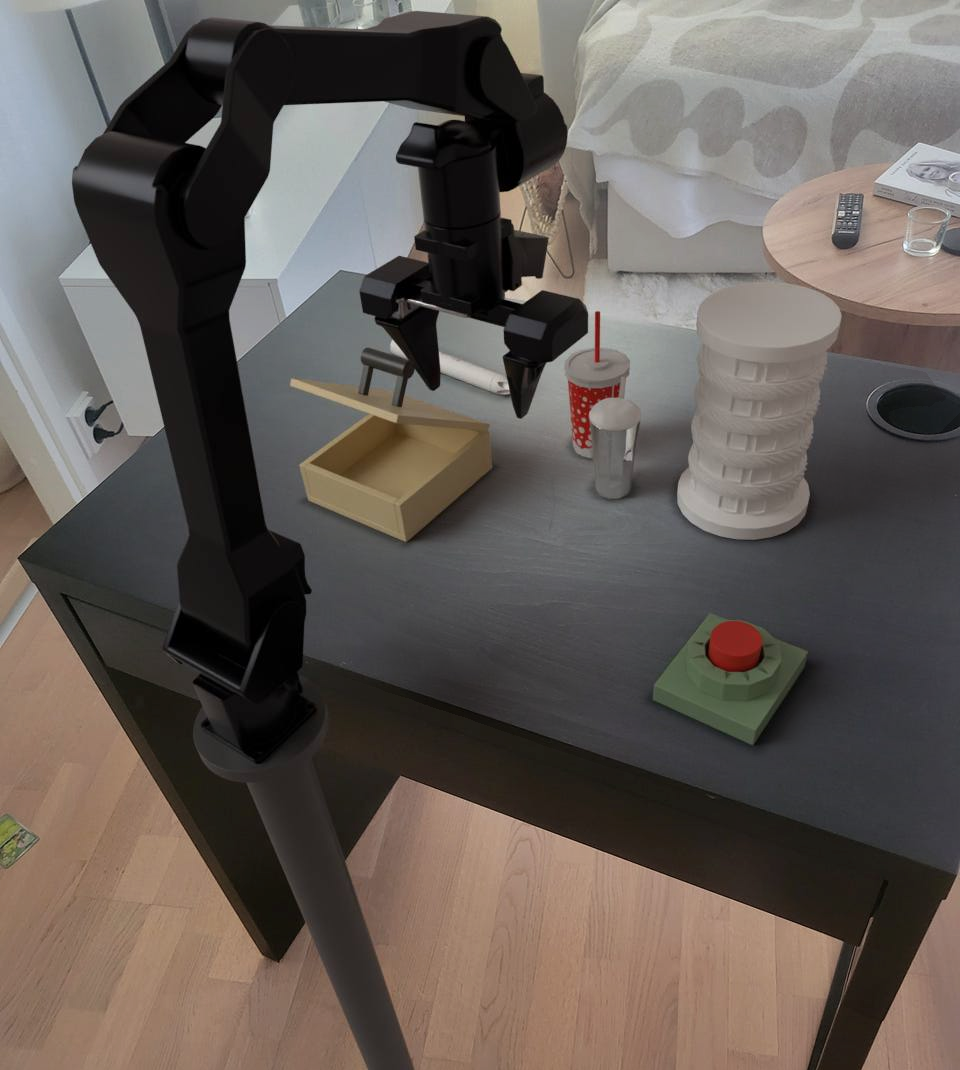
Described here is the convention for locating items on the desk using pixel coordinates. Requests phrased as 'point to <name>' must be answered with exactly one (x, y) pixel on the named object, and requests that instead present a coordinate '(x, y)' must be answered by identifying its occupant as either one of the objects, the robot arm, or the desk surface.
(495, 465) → the desk surface
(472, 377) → the marker
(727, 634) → the release button
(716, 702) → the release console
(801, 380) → the decorative container
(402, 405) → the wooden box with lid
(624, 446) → the milkshake
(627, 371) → the beverage cup
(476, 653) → the desk surface
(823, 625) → the desk surface
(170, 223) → the robot arm
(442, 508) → the tan wooden shallow box
